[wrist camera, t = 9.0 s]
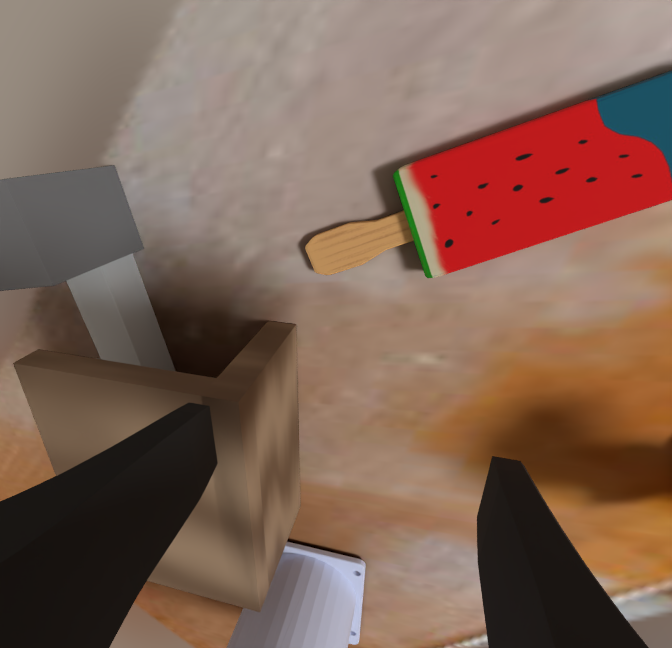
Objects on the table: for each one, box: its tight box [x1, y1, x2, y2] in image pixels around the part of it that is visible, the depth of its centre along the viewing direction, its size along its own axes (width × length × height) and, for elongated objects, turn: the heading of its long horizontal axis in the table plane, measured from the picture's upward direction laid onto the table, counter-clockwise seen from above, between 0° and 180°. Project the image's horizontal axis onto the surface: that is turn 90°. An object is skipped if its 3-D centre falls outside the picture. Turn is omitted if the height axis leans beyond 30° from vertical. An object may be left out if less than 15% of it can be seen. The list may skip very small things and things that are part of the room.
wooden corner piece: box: [13, 321, 301, 612], centre depth 22 cm, size 13×10×7 cm
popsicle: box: [305, 71, 672, 278], centre depth 16 cm, size 5×2×15 cm
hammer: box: [0, 165, 175, 371], centre depth 21 cm, size 18×4×6 cm, turn 9°
